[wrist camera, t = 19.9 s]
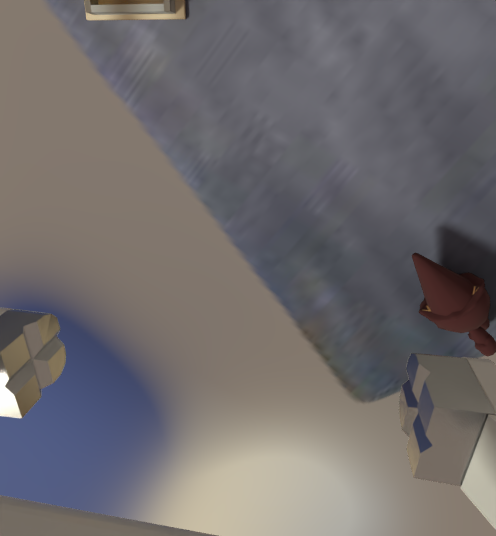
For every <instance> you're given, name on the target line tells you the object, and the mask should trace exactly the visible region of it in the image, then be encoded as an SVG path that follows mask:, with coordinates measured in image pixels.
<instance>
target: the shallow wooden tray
mask: <svg viewBox="0 0 496 536" xmlns="http://www.w3.org/2000/svg"><path fill="white" fill-rule="evenodd" d="M84 4H85V11H86V18H87V20H156V19H186V9H185V0H84Z"/></svg>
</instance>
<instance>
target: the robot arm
mask: <svg viewBox="0 0 496 536" xmlns="http://www.w3.org/2000/svg"><path fill="white" fill-rule="evenodd" d="M59 331H60V326H59V323H58V320H57V317H55V316H54V315H52V314H48V313H41V312H33V311H25V310H18V309H9V308H0V416H6V417H15V418H23V417H24V415H25V414H26V413H27V412H28V411H29V410H30V409H31V408H32V407H33V405H34V404H35V403H36V402H37V401H38V400H39V399H40V398H41V389H42V388H44V387H46V386H48V385H50V384H52V383H54V382H55V381H56V379H57V378H58V377H59V376H60V375H61V373H62V370H63V368H64V365H65V361H66V352H65V347H64V344H63V343H62V342H61V341H60V340H59V339H58V337H57V334H58V333H59ZM406 370H407V374H408V377H409V380H408V381H406V382H405V383H404V384H402V387H401V392H400V399H399V415H400V422H401V427H402V430H403V431H404V432H405V433H406V434H407V435H408V436H409V440H408V444H407V452H408V457H409V461H410V465H411V469H412V473H413V477H414V478H418V479H423V480H429V481H435V482H440V483H446V484H451V485H457V486H461V490H462V491H463V492H464V493H465V494H466V495H467V497H468V498H469V499H470V500H471V501H472V502H473V504H474V505H475V506H476V507H477V508H478V510H479V511H480V512H481V513H482V514H483V515H484V517H485V518H486V519H487V520H488V521H489V522H490V524H491V525H492V526H493V527H494V528H495V530H496V365H495V363H494V362H492V361H491V360H489V359H479V358H466V357H462V358H458V357H448V356H438V355H428V354H417V353H411V354H410V356H409V358H408V362H407V366H406ZM0 536H217V535H212V534H206V533H201V532H195V531H190V530H184V529H179V528H174V527H168V526H162V525H157V524H152V523H147V522H141V521H136V520H131V519H125V518H120V517H114V516H108V515H104V514H98V513H92V512H88V511H82V510H77V509H72V508H66V507H60V506H55V505H49V504H45V503H39V502H34V501H28V500H23V499H17V498H12V497H7V496H2V495H0Z"/></svg>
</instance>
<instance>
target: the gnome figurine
mask: <svg viewBox="0 0 496 536" xmlns="http://www.w3.org/2000/svg"><path fill="white" fill-rule="evenodd" d="M412 258H413V262H414V265H415V268H416V271H417V274H418V277H419V280H420V283H421V287H422V290H423V293H424V296H425V298H424V301H423V302H422V303H421V305H420V308H421V309H420V310H419V313H420V314H421V315H423V316H425V317H426V318H428V319H429V320H430V321H433V322H434V323H435V324H436V325H437V326H438V328H441V329H445V330H448V331H453V332H458V333H465V332H468V331H469V334H468V335H469V339H472V340H474V342H475V348H476V349H478V350H479V351H480V352H481V353H482V354H484V355H485V356H490V355H493V354H494V353H495V352H496V342H495V340H494V338H493V337H492V336H491V335H490V334H488V333H487V332H486V331H485V330H486V329H487V328H488V327H489V323H490V322H489V319H488V314H489V309H490V297H489V295H488V293H487V291H486V290H485V288H484V287H485V284H484V279H482V278H479V277H477V276H475V275H474V274H472V273H469V272H468V273H462V274H457V273H455V272H453V271H451V270H449V269H447V268H445V267H443V266H441V265H439V264H437V263H435V262H433V261H431V260H429V259H427V258H426V257H424V256H422V255H420V254H418V253H414V254H413V255H412Z"/></svg>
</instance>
